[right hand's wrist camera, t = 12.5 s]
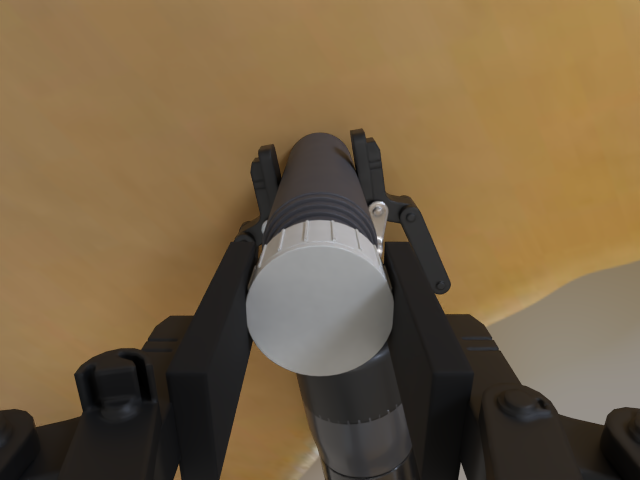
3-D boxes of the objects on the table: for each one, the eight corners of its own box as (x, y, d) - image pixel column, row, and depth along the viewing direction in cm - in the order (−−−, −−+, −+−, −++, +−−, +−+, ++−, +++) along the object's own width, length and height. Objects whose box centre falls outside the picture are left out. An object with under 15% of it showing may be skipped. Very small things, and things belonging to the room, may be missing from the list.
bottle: (350, 195, 32) (392, 371, 14) (289, 195, 32) (247, 371, 14) (352, 132, 31) (402, 236, 12) (287, 132, 31) (238, 236, 12)
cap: (383, 338, 15) (392, 378, 13) (256, 337, 15) (247, 378, 13) (390, 218, 14) (402, 244, 12) (249, 218, 14) (237, 244, 12)
